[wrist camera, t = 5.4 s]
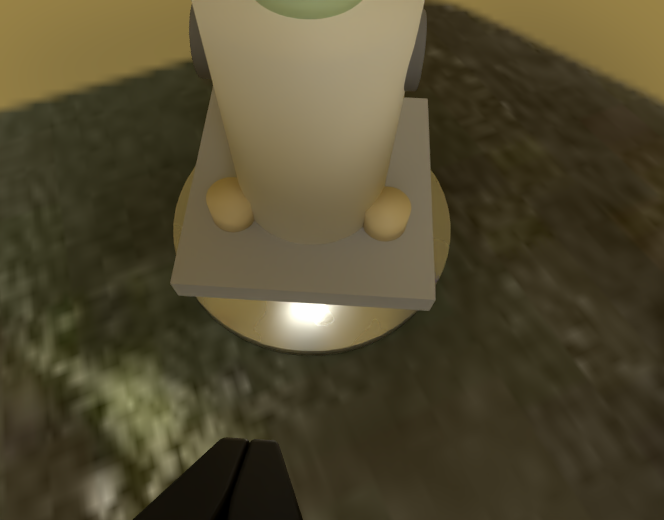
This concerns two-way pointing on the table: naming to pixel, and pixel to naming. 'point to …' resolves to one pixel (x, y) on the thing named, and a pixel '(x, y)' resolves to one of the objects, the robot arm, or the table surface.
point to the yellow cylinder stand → (310, 155)
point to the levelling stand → (315, 319)
